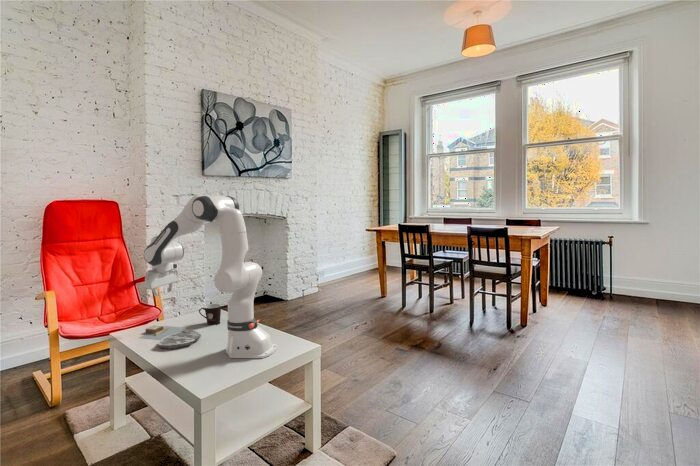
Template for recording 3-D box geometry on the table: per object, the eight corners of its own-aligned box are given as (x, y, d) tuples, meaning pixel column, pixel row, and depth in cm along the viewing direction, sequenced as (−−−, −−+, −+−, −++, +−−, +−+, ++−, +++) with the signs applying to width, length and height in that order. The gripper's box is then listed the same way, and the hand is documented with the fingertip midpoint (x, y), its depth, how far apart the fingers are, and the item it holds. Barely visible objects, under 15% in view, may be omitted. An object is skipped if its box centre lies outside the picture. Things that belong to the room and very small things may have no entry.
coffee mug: (225, 322, 204) (224, 305, 203) (212, 327, 197) (211, 309, 196) (211, 319, 210) (210, 302, 209) (198, 323, 203) (197, 306, 202)
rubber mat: (187, 328, 196) (187, 327, 196) (162, 341, 178) (162, 340, 178) (165, 326, 199) (165, 325, 199) (138, 338, 182) (138, 337, 182)
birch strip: (169, 329, 193) (169, 327, 193) (156, 335, 185) (156, 333, 184) (167, 329, 193) (167, 327, 193) (154, 335, 185) (154, 333, 185)
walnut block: (163, 326, 192) (153, 325, 193) (155, 329, 187) (145, 328, 188) (163, 330, 192) (153, 329, 194) (155, 334, 187) (145, 333, 188)
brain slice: (184, 353, 164) (184, 346, 164) (151, 350, 168) (150, 344, 167) (209, 337, 184) (209, 331, 183) (179, 335, 187) (178, 329, 187)
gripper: (151, 271, 177) (153, 299, 178) (180, 263, 197) (182, 289, 198) (140, 270, 179) (142, 298, 180) (170, 263, 198) (171, 289, 200)
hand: (163, 293), depth 189 cm, fingers open, 8 cm apart
